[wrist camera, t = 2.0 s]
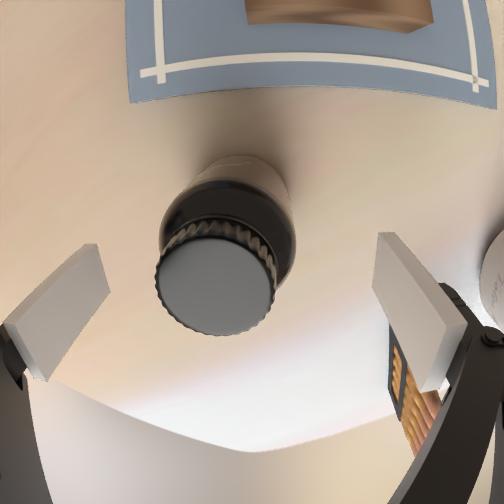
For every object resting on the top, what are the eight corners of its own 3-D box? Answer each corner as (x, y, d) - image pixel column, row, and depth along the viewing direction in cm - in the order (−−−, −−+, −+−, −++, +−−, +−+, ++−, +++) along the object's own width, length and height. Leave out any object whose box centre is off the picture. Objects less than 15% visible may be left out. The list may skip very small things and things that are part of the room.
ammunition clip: (402, 384, 31) (431, 469, 20) (387, 389, 31) (413, 475, 20) (406, 316, 27) (456, 414, 16) (389, 321, 27) (433, 423, 16)
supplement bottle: (229, 134, 21) (188, 161, 10) (306, 191, 22) (345, 275, 11) (176, 209, 23) (107, 298, 12) (249, 259, 25) (237, 376, 14)
